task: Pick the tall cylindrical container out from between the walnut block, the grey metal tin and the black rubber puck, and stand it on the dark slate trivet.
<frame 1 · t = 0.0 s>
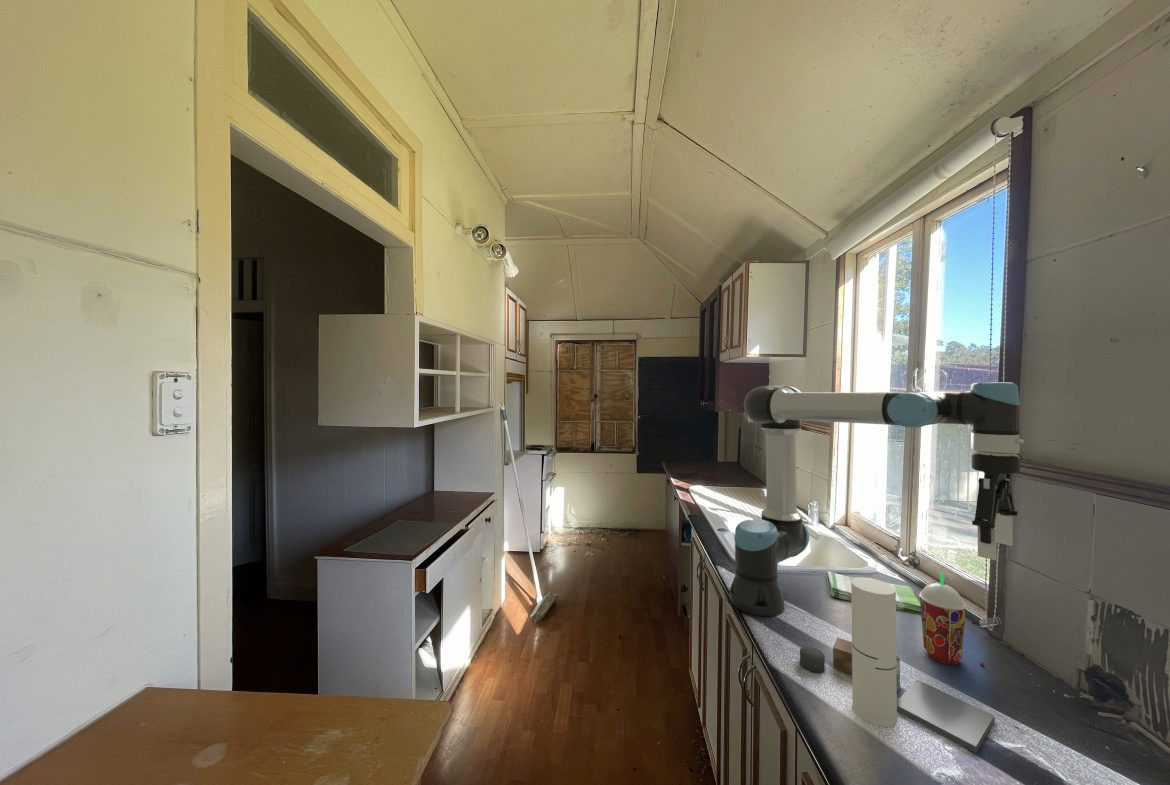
hand: (995, 550, 90), 28 cm above the countertop, fingers open, 13 cm apart
black rubber puck: (812, 666, 95), on the countertop
cylindrical container: (874, 713, 81), on the countertop
grey metal tin: (885, 684, 89), on the countertop
smoothie: (942, 658, 98), on the countertop
slate trivet: (943, 715, 80), on the countertop
dish towel: (870, 595, 128), on the countertop
walnut block: (848, 668, 94), on the countertop
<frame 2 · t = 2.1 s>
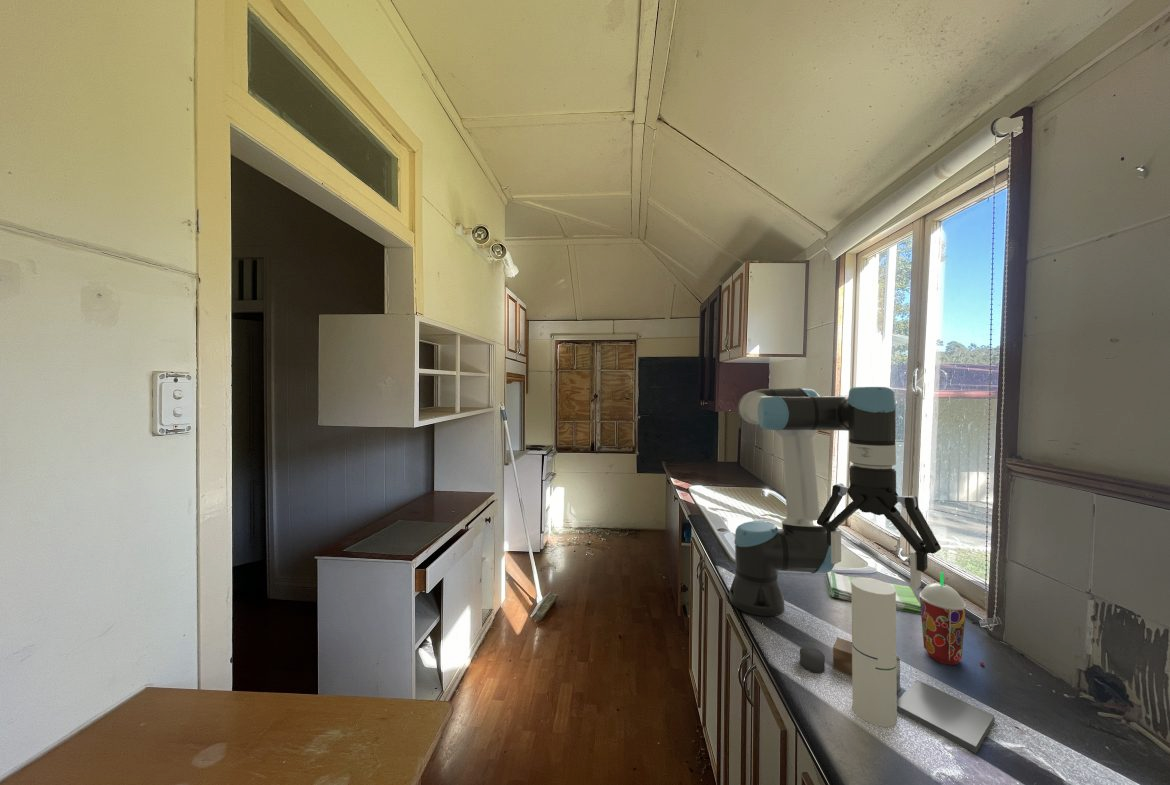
hand: (873, 573, 81), 27 cm above the countertop, fingers open, 13 cm apart
nothing on the countertop moved.
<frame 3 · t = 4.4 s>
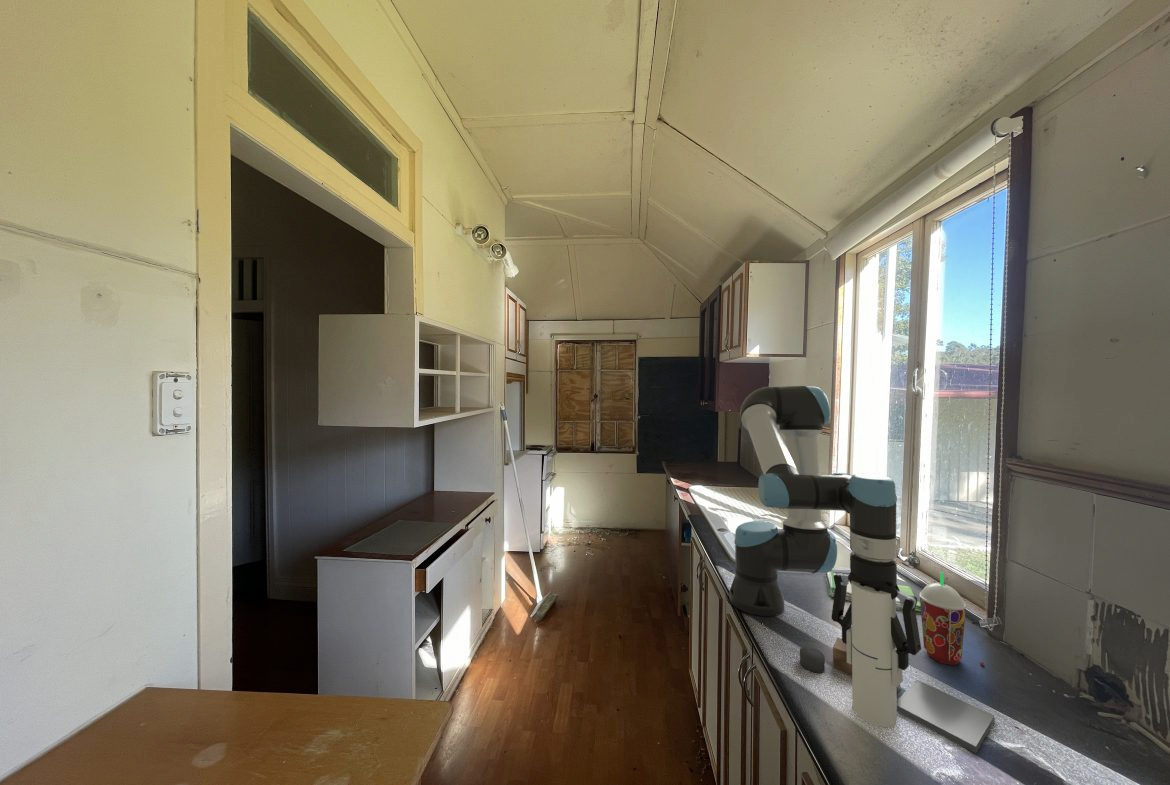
hand: (873, 671, 81), 8 cm above the countertop, fingers closed on cylindrical container, 7 cm apart
cylindrical container: (874, 713, 81), on the countertop, touching gripper
everything else where it was.
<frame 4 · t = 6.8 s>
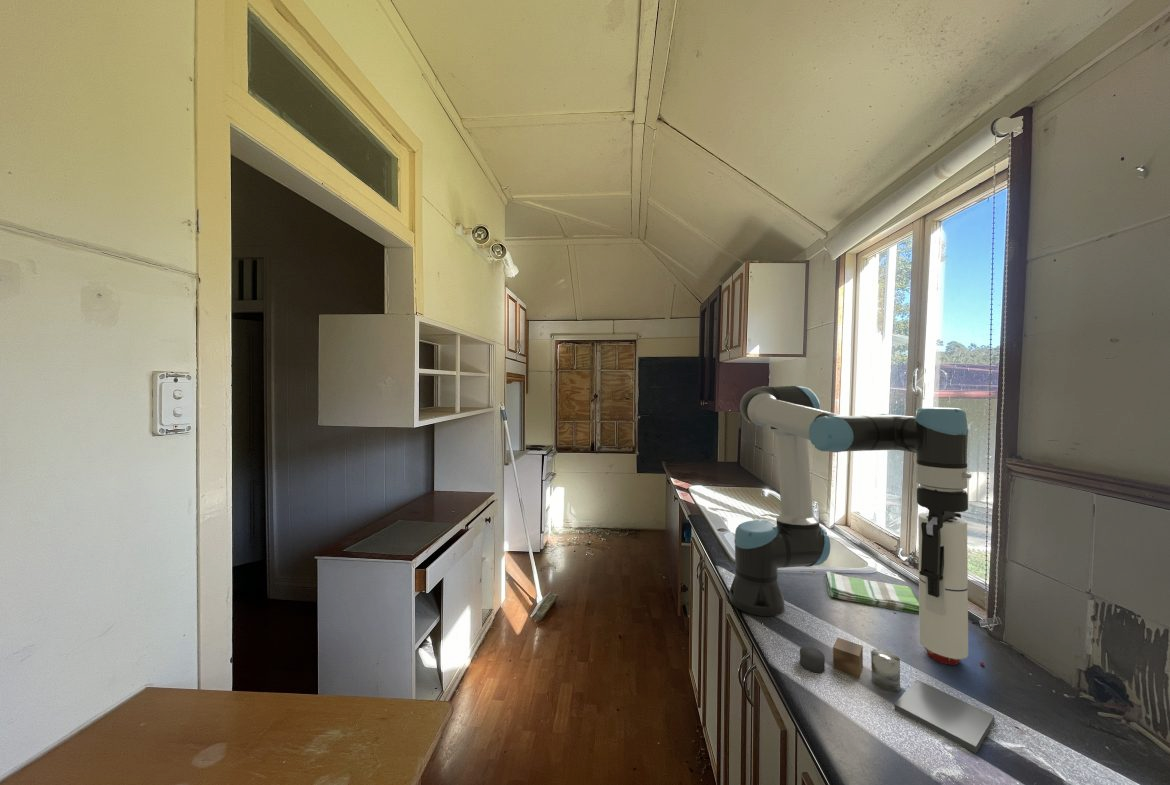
hand: (942, 605, 80), 21 cm above the countertop, fingers closed on cylindrical container, 7 cm apart
cylindrical container: (943, 648, 80), point 13 cm above the countertop, touching gripper
everything else where it was.
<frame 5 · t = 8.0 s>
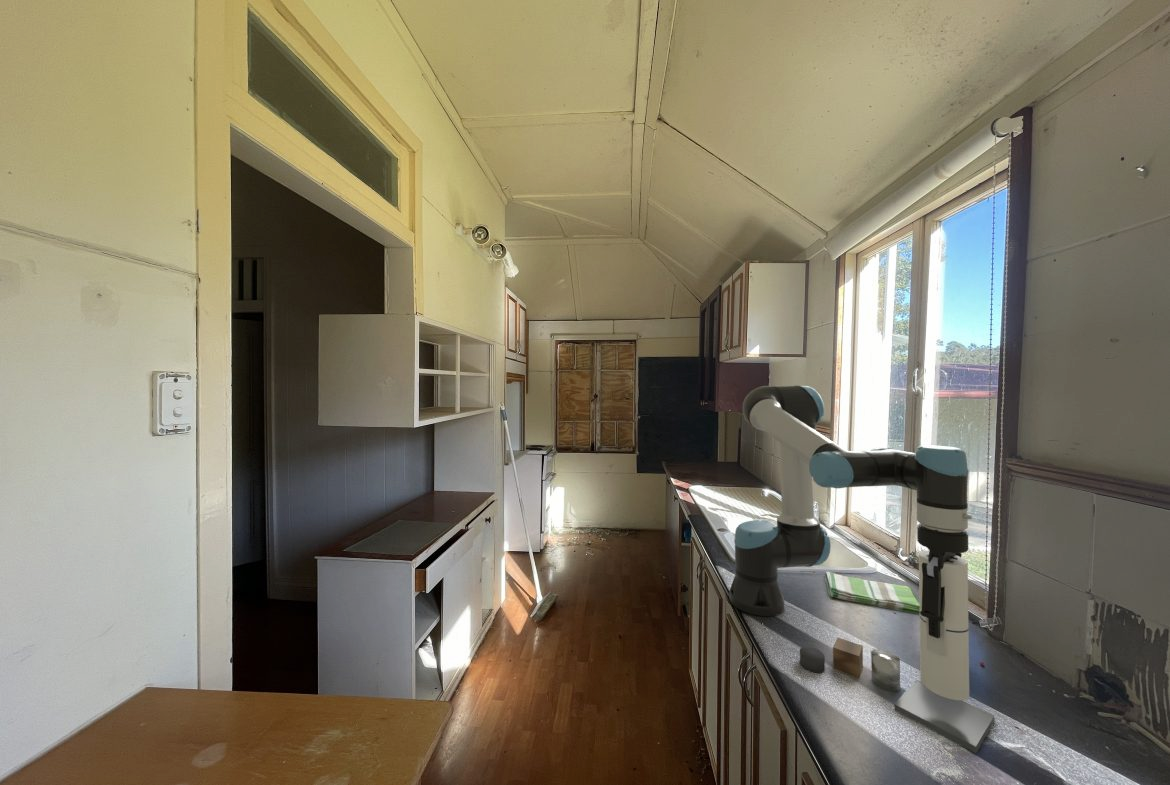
hand: (943, 644, 80), 14 cm above the countertop, fingers closed on cylindrical container, 7 cm apart
cylindrical container: (944, 687, 80), point 6 cm above the countertop, touching gripper
everything else where it was.
when the fingers open (10 cm above the countertop, at t = 9.1 s): cylindrical container stays where it is, resting on slate trivet.
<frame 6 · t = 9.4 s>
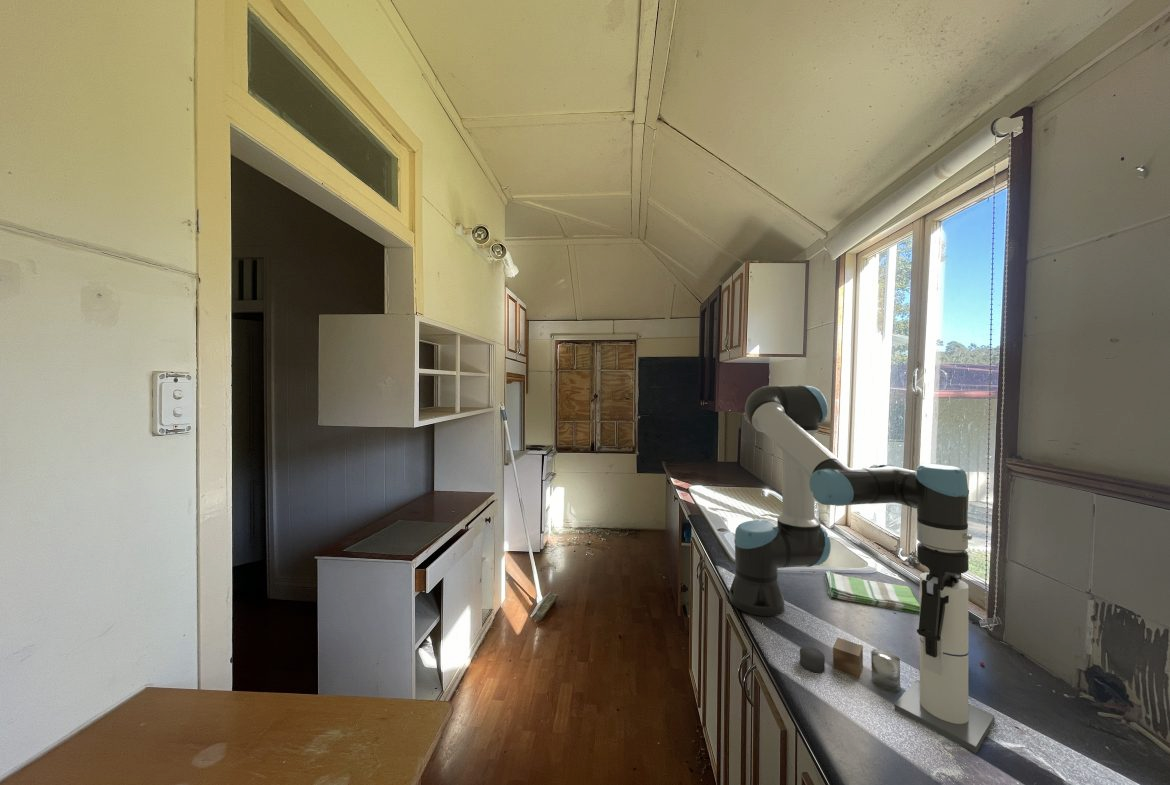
hand: (943, 660, 80), 11 cm above the countertop, fingers open, 10 cm apart
cylindrical container: (943, 710, 80), point 1 cm above the countertop, touching slate trivet
everything else where it was.
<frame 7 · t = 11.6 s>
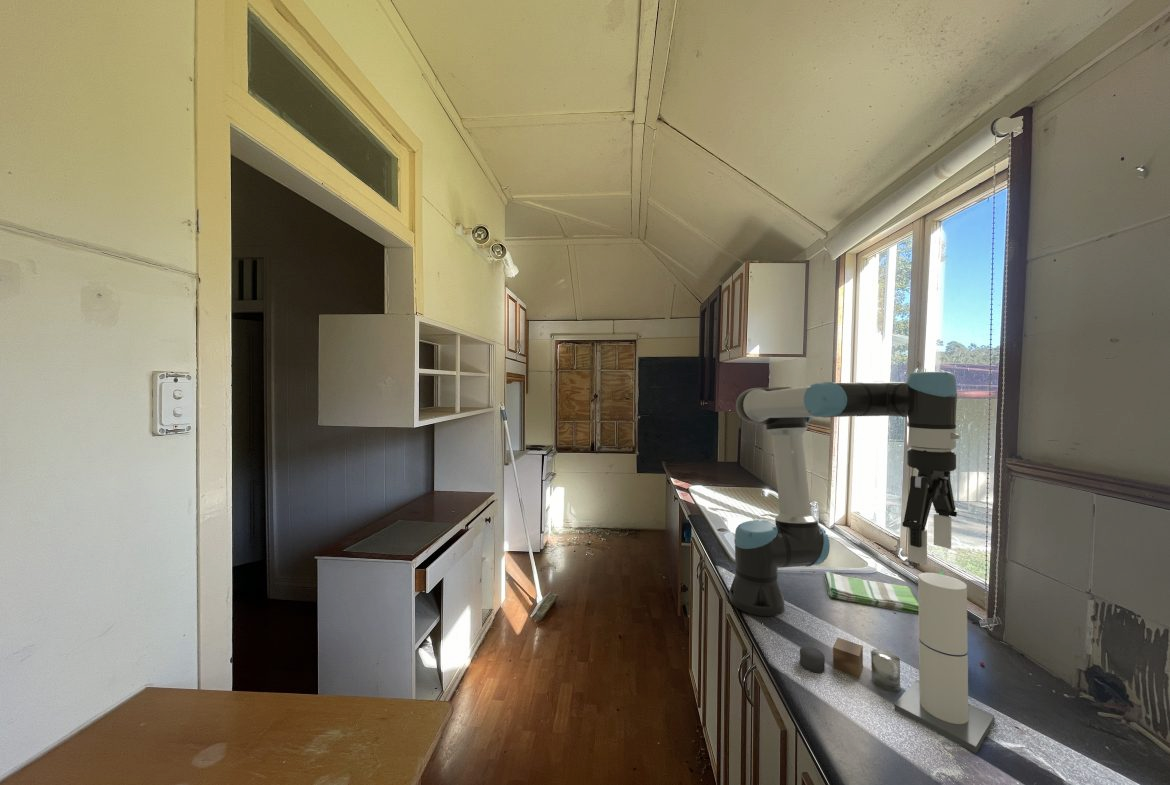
hand: (930, 554, 83), 30 cm above the countertop, fingers open, 13 cm apart
nothing on the countertop moved.
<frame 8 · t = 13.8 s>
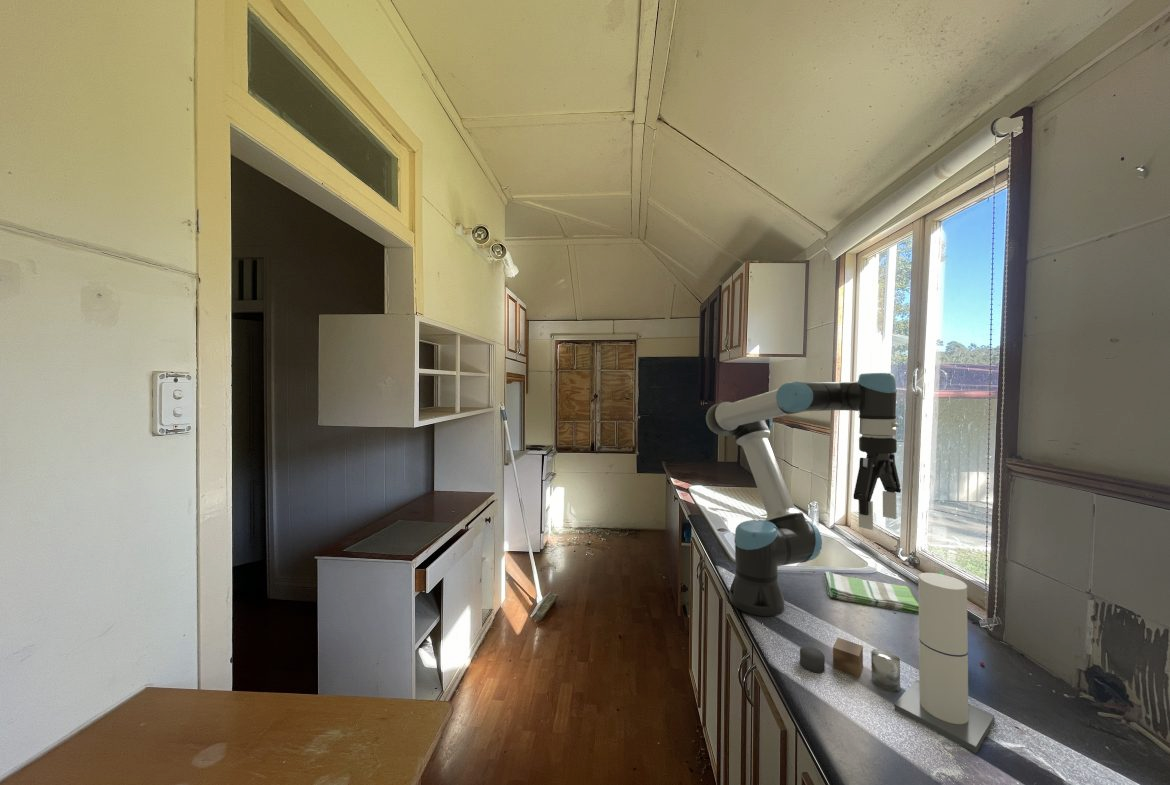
hand: (878, 522, 101), 31 cm above the countertop, fingers open, 13 cm apart
nothing on the countertop moved.
at the end: cylindrical container inside the target area on the slate trivet (0.0 cm from its centre), point 1.0 cm above the slate trivet's base; cylindrical container tilted 0°; the gripper is holding nothing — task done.
